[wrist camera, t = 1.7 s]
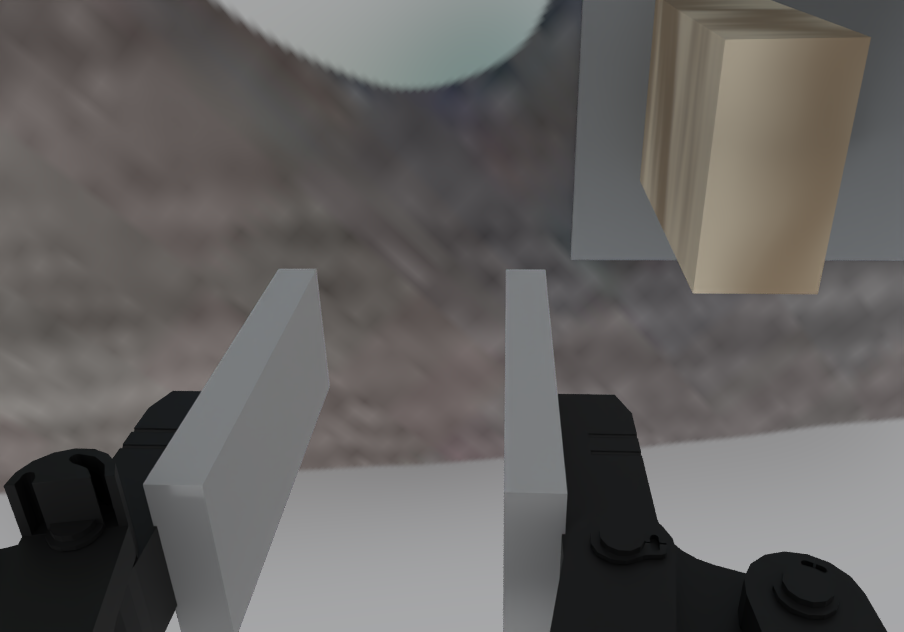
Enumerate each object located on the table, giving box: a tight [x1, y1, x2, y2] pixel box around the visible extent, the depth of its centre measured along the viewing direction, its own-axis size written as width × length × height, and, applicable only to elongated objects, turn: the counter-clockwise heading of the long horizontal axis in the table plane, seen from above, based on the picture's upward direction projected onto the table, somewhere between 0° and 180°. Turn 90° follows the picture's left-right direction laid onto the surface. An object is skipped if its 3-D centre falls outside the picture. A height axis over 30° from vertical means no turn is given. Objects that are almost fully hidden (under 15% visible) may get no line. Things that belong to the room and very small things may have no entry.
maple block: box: [640, 0, 871, 294], centre depth 29 cm, size 4×8×12 cm, turn 2°
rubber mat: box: [570, 0, 904, 261], centre depth 35 cm, size 20×16×1 cm
